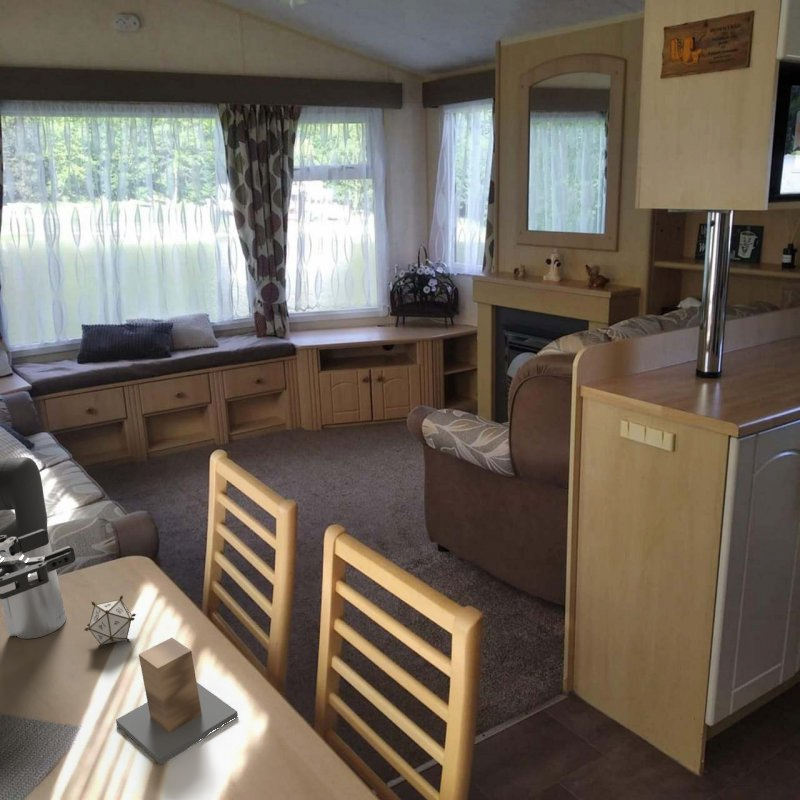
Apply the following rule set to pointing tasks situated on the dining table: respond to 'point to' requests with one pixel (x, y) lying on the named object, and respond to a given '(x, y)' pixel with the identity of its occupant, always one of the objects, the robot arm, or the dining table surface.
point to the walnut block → (170, 684)
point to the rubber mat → (177, 741)
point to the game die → (110, 622)
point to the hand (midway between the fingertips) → (59, 544)
